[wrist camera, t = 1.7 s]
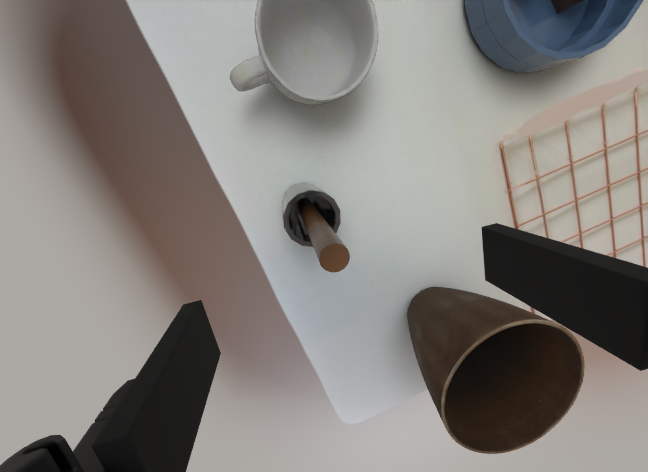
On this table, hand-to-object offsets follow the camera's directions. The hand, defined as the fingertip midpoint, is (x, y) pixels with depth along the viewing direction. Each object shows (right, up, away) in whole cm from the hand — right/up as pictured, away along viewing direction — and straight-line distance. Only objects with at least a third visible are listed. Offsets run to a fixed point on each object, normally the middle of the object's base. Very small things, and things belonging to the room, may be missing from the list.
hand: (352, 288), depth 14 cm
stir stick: (-4, +6, +23) cm, 24 cm away
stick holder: (-4, +6, +23) cm, 25 cm away
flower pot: (+14, -8, +30) cm, 34 cm away
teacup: (-4, +21, +20) cm, 29 cm away
